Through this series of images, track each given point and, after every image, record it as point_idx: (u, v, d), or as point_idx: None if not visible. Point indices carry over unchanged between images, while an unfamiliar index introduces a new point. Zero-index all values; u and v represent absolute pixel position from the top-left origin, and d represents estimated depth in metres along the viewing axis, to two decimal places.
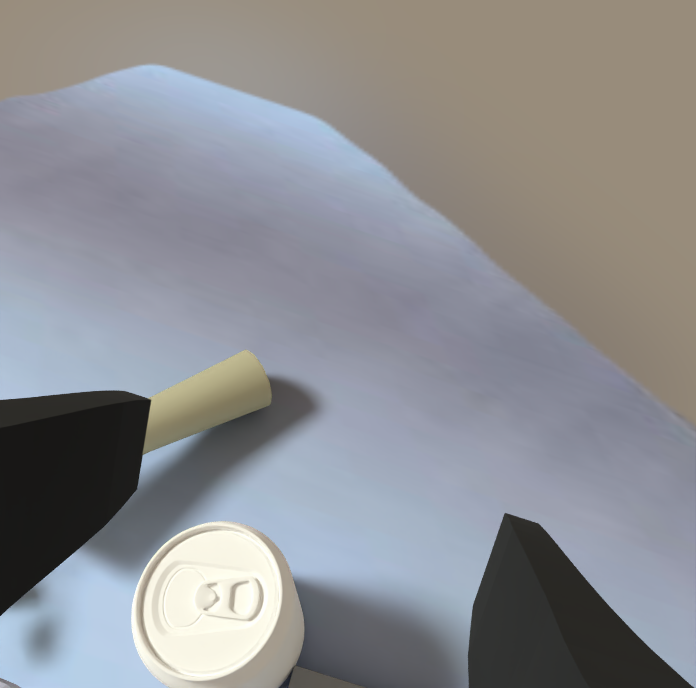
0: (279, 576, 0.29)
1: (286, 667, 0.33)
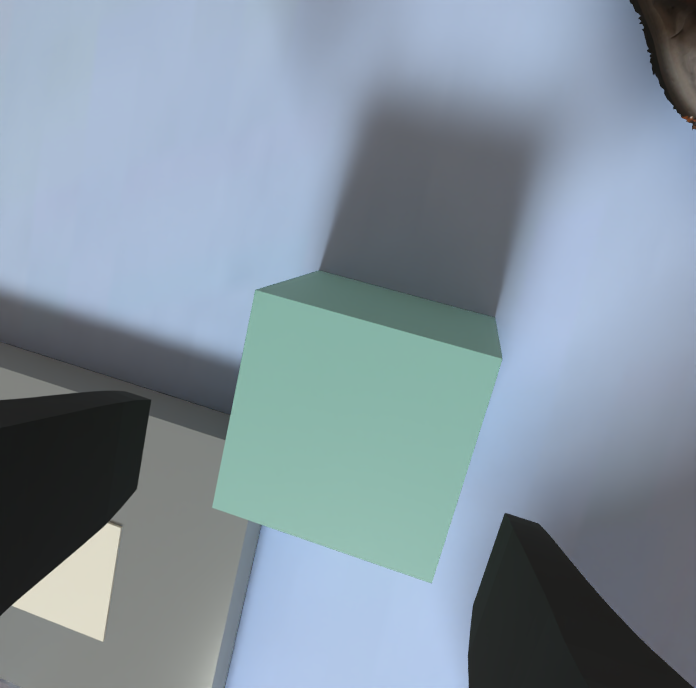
0: None
1: None
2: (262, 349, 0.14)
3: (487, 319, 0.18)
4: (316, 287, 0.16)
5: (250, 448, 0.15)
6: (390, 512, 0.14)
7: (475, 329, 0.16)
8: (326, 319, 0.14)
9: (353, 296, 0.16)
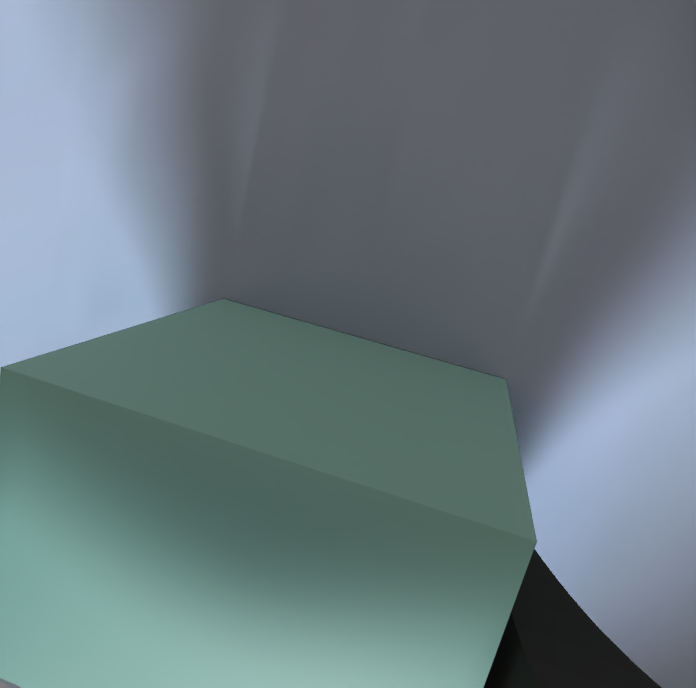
0: None
1: None
2: (26, 489, 0.07)
3: (494, 387, 0.11)
4: (180, 342, 0.09)
5: (22, 676, 0.07)
6: None
7: (473, 425, 0.08)
8: (148, 435, 0.06)
9: (248, 358, 0.09)
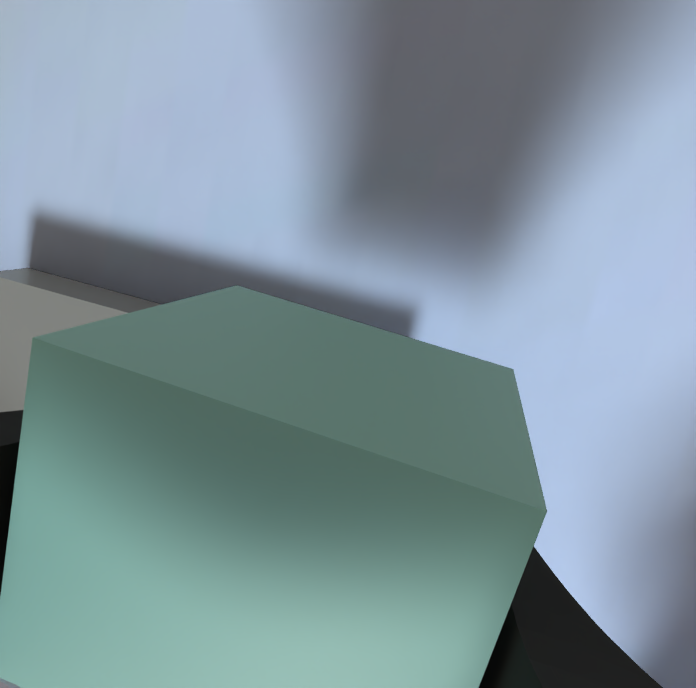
0: None
1: None
2: (53, 456, 0.07)
3: (502, 376, 0.11)
4: (199, 322, 0.09)
5: (42, 640, 0.08)
6: None
7: (483, 408, 0.09)
8: (174, 404, 0.07)
9: (265, 340, 0.09)
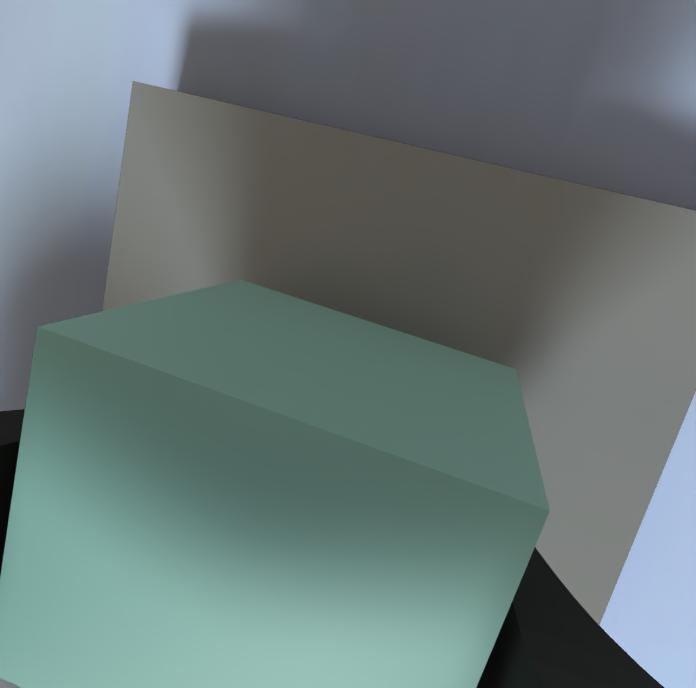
0: None
1: None
2: (55, 446, 0.07)
3: (505, 375, 0.11)
4: (203, 315, 0.09)
5: (40, 628, 0.08)
6: None
7: (486, 407, 0.09)
8: (177, 395, 0.07)
9: (269, 334, 0.09)
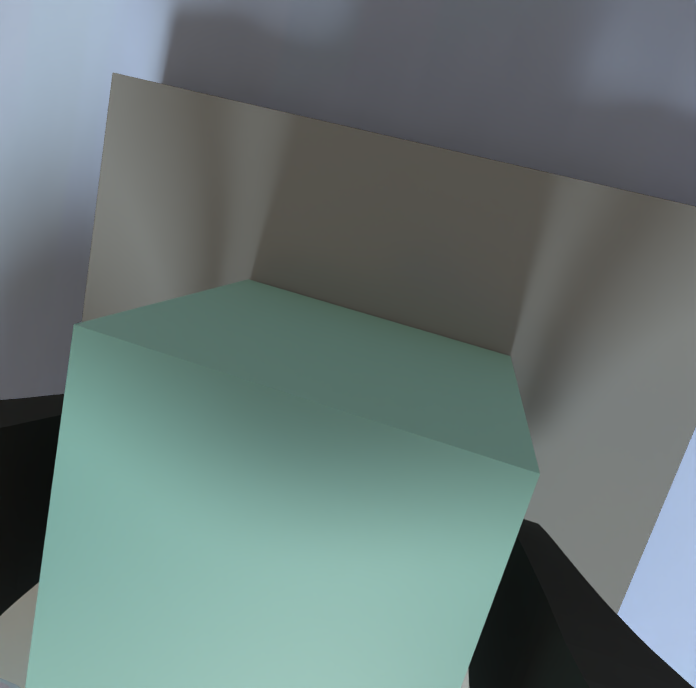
0: None
1: None
2: (92, 432, 0.08)
3: (500, 362, 0.12)
4: (218, 312, 0.10)
5: (81, 601, 0.08)
6: None
7: (482, 389, 0.09)
8: (203, 383, 0.07)
9: (280, 328, 0.10)
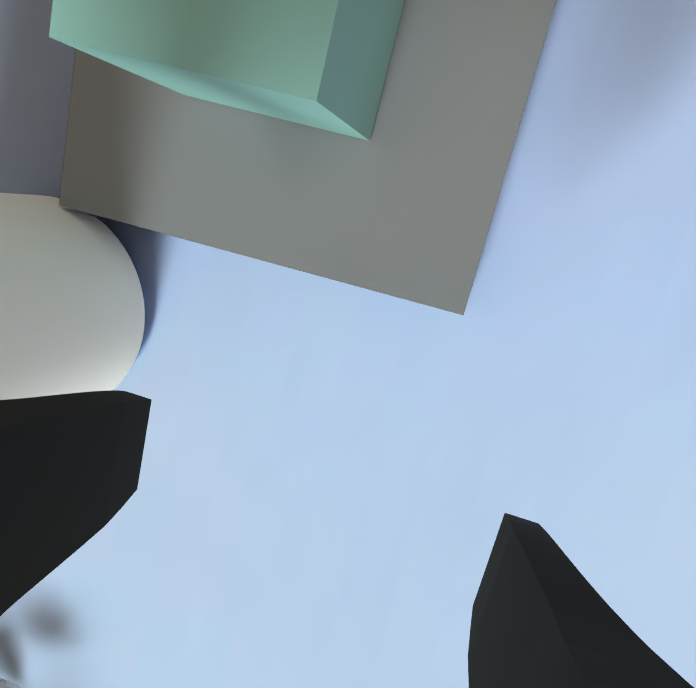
0: None
1: (15, 212, 0.18)
2: None
3: None
4: None
5: None
6: (263, 3, 0.11)
7: None
8: None
9: None
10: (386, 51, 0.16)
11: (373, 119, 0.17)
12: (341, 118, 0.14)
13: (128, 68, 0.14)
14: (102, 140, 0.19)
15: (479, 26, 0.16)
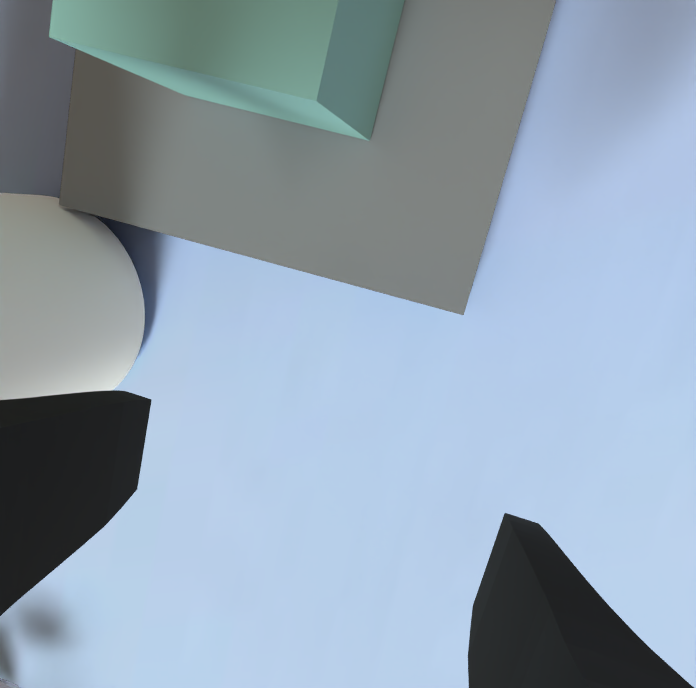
0: None
1: (15, 212, 0.18)
2: None
3: None
4: None
5: None
6: (263, 3, 0.11)
7: None
8: None
9: None
10: (386, 51, 0.16)
11: (373, 119, 0.17)
12: (341, 118, 0.14)
13: (128, 68, 0.14)
14: (102, 140, 0.19)
15: (479, 26, 0.16)
